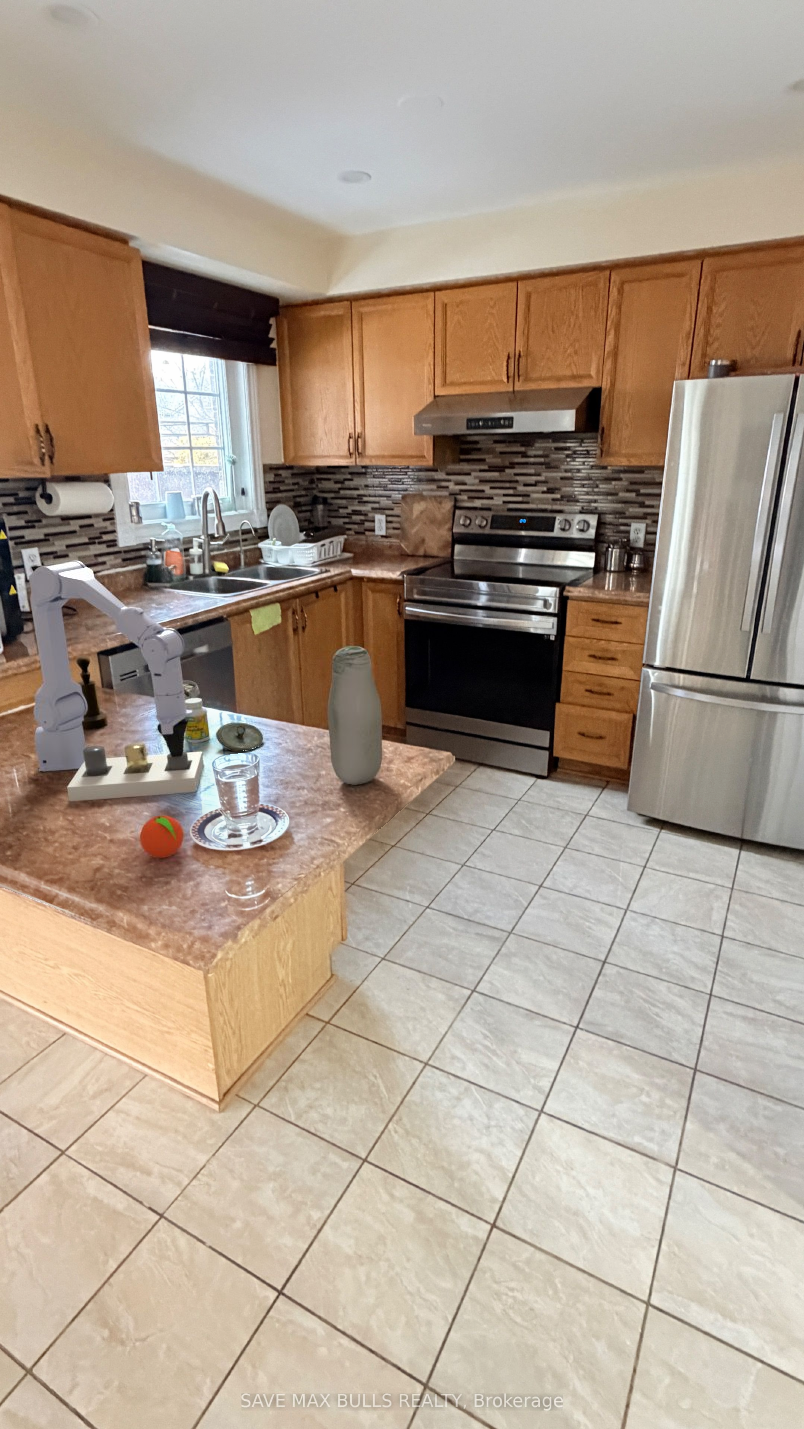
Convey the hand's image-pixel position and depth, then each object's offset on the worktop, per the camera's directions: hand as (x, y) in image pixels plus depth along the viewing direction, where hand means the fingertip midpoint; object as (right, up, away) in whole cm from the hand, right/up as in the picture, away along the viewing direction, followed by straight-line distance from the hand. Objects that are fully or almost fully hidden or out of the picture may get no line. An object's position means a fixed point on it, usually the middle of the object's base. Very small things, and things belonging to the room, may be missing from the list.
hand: (177, 755), depth 153 cm
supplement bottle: (-2, +2, +23) cm, 24 cm away
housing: (-8, -5, +1) cm, 10 cm away
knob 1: (-16, -3, -1) cm, 16 cm away
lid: (+9, +1, +20) cm, 21 cm away
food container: (-8, +6, +35) cm, 37 cm away
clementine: (+7, -15, -28) cm, 33 cm away
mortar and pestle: (-31, +5, +34) cm, 46 cm away
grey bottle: (+37, -5, -1) cm, 37 cm away
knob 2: (0, -5, +2) cm, 5 cm away
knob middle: (-8, -3, 0) cm, 8 cm away
